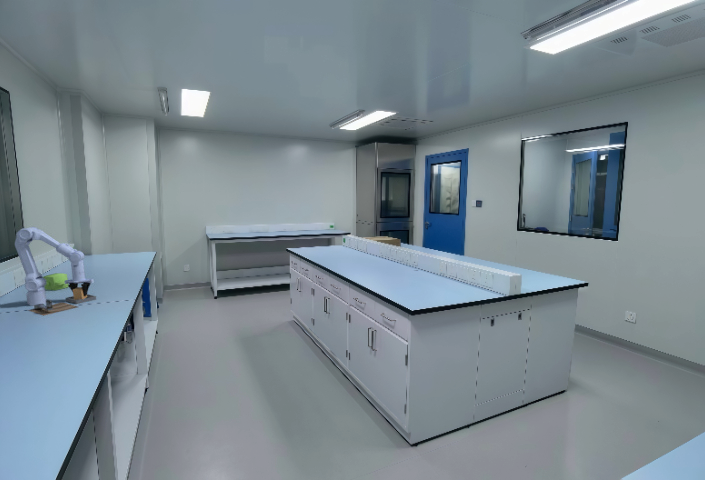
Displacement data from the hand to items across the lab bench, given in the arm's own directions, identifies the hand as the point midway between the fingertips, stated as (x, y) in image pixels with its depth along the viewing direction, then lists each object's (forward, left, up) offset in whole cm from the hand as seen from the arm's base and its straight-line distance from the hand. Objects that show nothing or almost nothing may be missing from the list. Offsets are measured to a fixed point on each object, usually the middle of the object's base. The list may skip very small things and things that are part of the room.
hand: (80, 295), depth 211 cm
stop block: (0, 0, -2) cm, 2 cm away
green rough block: (-50, +7, -4) cm, 51 cm away
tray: (0, 0, -4) cm, 4 cm away
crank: (+4, -19, -3) cm, 20 cm away
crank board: (+4, -15, -4) cm, 16 cm away
